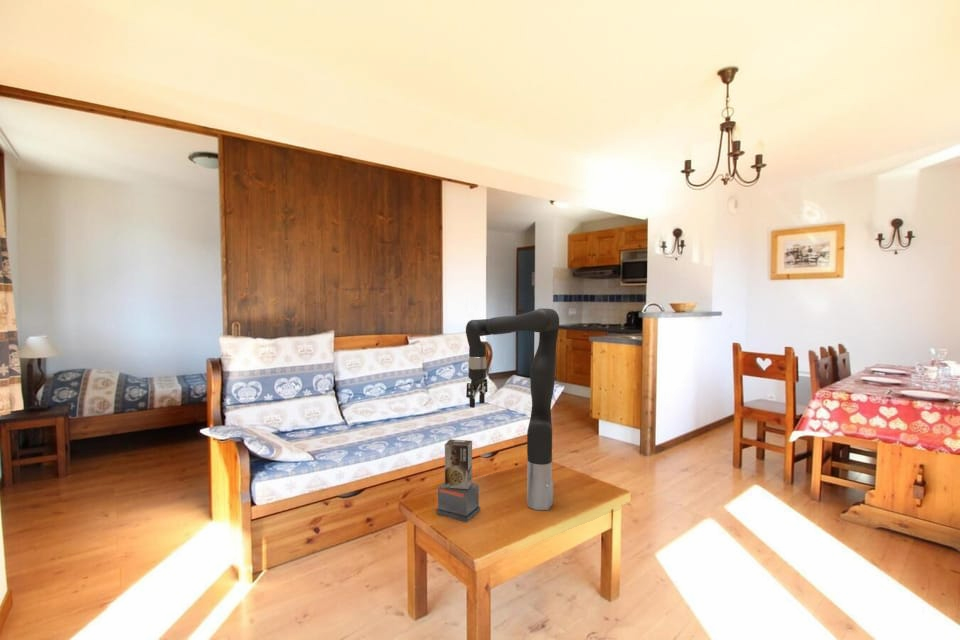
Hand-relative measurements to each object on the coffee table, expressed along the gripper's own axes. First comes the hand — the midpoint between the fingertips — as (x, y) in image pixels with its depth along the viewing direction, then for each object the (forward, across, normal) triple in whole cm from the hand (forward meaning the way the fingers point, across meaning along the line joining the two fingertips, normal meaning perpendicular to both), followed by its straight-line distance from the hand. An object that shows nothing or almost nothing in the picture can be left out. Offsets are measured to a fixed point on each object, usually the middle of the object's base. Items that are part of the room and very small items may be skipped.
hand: (477, 405), depth 189 cm
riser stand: (+34, +25, +6) cm, 43 cm away
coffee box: (+24, +25, +6) cm, 35 cm away
